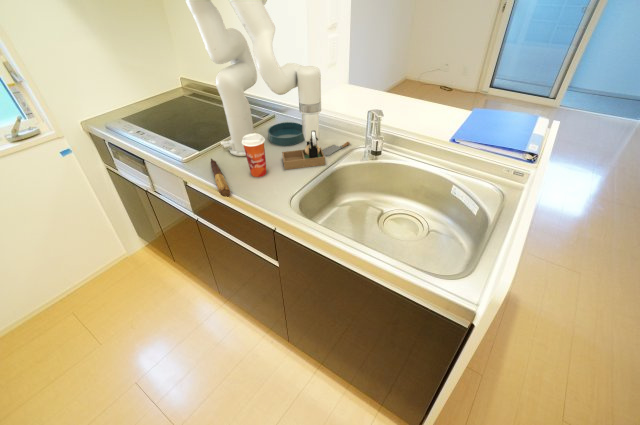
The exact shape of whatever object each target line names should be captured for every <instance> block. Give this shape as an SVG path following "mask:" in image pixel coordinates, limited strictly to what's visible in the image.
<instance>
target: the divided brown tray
mask: <svg viewBox="0 0 640 425" xmlns="http://www.w3.org/2000/svg"><path fill="white" fill-rule="evenodd" d="M319 148H320V152H319V153H318V157H316V158H309V155H307V154H306V152H305V148H303V149H296V150H288V151H282V152H281V154H282V161H283V167H284V170H286V171H287V170H295V169H302V168H303V169H304V168H309V167H310V168H311V167H319V166H325V165H326V158H325V155H324V154H323V151H322V150H323V149H322V147H319Z"/></svg>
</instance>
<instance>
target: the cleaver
mask: <svg viewBox="0 0 640 425" xmlns="http://www.w3.org/2000/svg"><path fill="white" fill-rule="evenodd" d="M348 146H350V142H349V141H347V142H345V143H343V144H342V145H340V146H338V145H336V144H332V145H330V146H328V147H326V148H324V149H322V151H323V154H324V156H326V157H329V156H330V155H332V154H334V153H336V152H337V151H339V150H340V149H343V148H346V147H348Z"/></svg>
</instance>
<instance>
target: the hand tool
mask: <svg viewBox="0 0 640 425" xmlns="http://www.w3.org/2000/svg"><path fill="white" fill-rule="evenodd" d="M210 167H211V171H212V173H213V178H214V180H215V185H216V187H217V189H218V192H219V194H220V196H221V197H225V198H227V197H229V196H230V194H231V190H230V187H229V184H228V183H227V181H226V179H225V177H224V175H223V173H222V172H221V169H220V167H219V165H218V164H217V161H216V160H214V159H213V158H210Z"/></svg>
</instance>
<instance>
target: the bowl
mask: <svg viewBox="0 0 640 425" xmlns="http://www.w3.org/2000/svg"><path fill="white" fill-rule="evenodd" d="M267 136H268V140H269V142H270V143H271V144H273V145H275V146H280V147H281V146H282V147H286V146H288V147H289V146H294V145H297V144H299V143H302V142H303V141H305V138H304V135H303V131H302V123H299V122H294V121H285V122H279V123H275V124H273V125H271V126H269V127H268V128H267Z"/></svg>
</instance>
